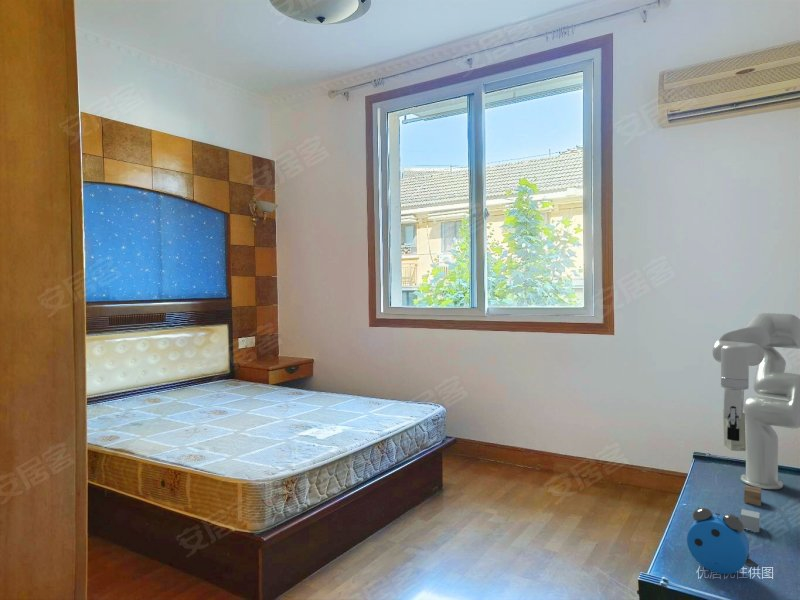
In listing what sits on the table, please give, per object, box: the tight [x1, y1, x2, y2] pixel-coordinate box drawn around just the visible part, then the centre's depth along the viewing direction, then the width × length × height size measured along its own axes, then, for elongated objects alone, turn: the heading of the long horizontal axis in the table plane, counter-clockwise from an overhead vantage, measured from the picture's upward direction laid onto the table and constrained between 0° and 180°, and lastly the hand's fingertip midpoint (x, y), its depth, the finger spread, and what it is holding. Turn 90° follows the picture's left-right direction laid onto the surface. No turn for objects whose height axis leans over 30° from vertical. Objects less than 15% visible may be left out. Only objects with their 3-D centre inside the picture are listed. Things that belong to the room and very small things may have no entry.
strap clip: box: [744, 553, 759, 568], centre depth 136 cm, size 8×3×4 cm, turn 179°
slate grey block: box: [740, 508, 761, 533], centre depth 152 cm, size 4×4×4 cm
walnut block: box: [743, 484, 762, 507], centre depth 170 cm, size 4×4×4 cm
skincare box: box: [722, 408, 746, 452], centre depth 165 cm, size 6×4×12 cm
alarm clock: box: [686, 507, 750, 575], centre depth 131 cm, size 13×6×15 cm, turn 49°
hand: (734, 436), depth 165 cm, fingers closed on skincare box, 7 cm apart
